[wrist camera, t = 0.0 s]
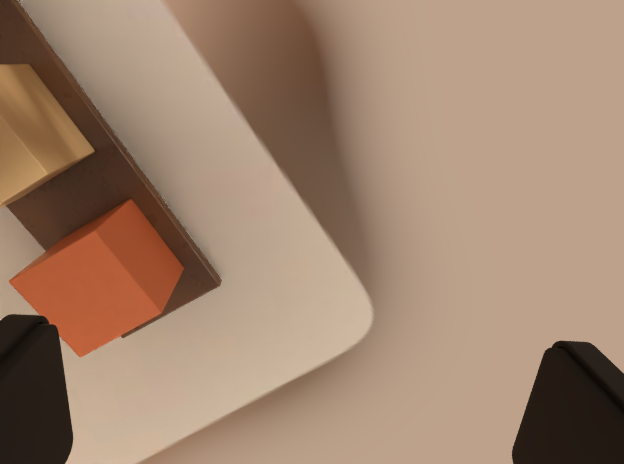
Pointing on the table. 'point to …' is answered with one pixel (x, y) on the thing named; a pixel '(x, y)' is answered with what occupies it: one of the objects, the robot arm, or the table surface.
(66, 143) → the light wood cube
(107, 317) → the orange cube
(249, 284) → the table surface
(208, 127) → the table surface
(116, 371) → the table surface
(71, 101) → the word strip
